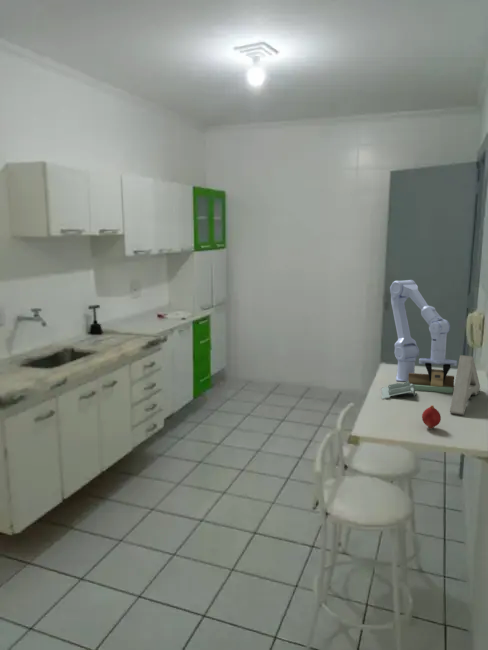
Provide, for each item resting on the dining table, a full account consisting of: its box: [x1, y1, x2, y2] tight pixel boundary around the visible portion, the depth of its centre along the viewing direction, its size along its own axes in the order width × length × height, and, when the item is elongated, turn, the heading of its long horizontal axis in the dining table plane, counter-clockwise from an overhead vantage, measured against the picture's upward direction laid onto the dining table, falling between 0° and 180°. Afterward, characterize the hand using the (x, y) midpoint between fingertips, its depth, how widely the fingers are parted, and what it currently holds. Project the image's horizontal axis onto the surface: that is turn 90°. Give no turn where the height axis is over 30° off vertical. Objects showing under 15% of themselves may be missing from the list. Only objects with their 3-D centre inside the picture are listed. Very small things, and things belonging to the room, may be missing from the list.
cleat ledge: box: [412, 384, 454, 394], centre depth 212 cm, size 7×16×2 cm, turn 73°
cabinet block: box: [430, 368, 444, 387], centre depth 211 cm, size 6×4×6 cm
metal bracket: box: [380, 381, 418, 400], centre depth 204 cm, size 14×6×15 cm
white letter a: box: [449, 354, 481, 416], centre depth 195 cm, size 22×4×30 cm
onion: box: [421, 405, 442, 429], centre depth 167 cm, size 6×6×8 cm
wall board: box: [408, 372, 455, 389], centre depth 215 cm, size 2×18×5 cm, turn 73°
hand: (436, 381), depth 211 cm, fingers closed on cabinet block, 4 cm apart
